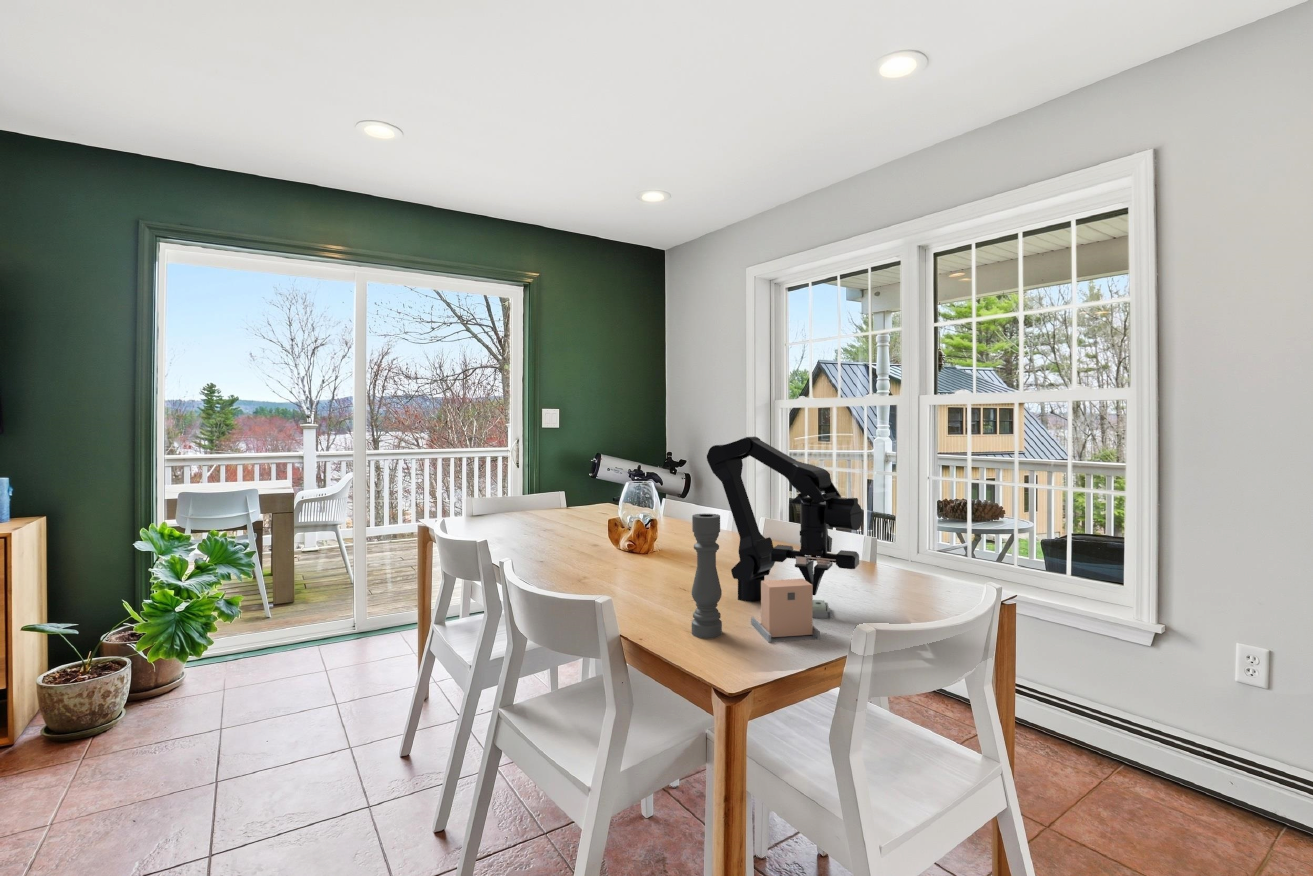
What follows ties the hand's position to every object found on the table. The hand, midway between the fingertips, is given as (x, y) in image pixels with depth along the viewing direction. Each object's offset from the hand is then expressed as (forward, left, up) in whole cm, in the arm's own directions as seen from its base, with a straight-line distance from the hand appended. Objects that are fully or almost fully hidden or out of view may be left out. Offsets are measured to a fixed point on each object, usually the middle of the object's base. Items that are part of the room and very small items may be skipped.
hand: (813, 594), depth 142 cm
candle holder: (-22, -17, -5) cm, 28 cm away
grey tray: (-7, -13, -5) cm, 16 cm away
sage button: (0, 0, -5) cm, 5 cm away
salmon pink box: (-6, -14, -4) cm, 16 cm away
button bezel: (0, 0, -5) cm, 5 cm away
